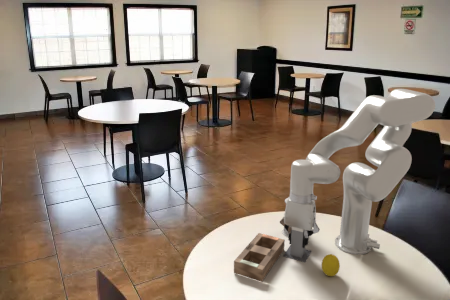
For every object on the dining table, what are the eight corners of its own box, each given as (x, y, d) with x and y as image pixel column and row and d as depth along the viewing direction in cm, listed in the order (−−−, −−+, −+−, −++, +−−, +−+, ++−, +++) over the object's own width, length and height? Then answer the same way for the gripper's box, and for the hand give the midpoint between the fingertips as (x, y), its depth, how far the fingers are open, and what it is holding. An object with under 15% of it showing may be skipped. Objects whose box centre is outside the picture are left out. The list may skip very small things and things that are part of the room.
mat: (311, 251, 136) (311, 250, 136) (305, 263, 129) (305, 262, 129) (290, 246, 139) (290, 245, 139) (282, 257, 133) (282, 256, 133)
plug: (304, 252, 135) (306, 221, 131) (301, 257, 132) (303, 227, 128) (293, 249, 137) (295, 219, 133) (290, 254, 133) (291, 224, 130)
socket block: (284, 250, 137) (284, 239, 135) (262, 282, 120) (262, 269, 118) (258, 243, 141) (258, 232, 140) (233, 272, 124) (233, 260, 123)
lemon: (328, 283, 119) (331, 261, 116) (317, 273, 124) (318, 252, 121) (342, 278, 121) (344, 256, 119) (330, 269, 126) (332, 248, 124)
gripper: (328, 197, 127) (324, 245, 132) (281, 187, 134) (279, 233, 140) (323, 206, 120) (318, 256, 126) (273, 195, 128) (271, 243, 134)
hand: (298, 243), depth 133 cm, fingers closed on plug, 4 cm apart
